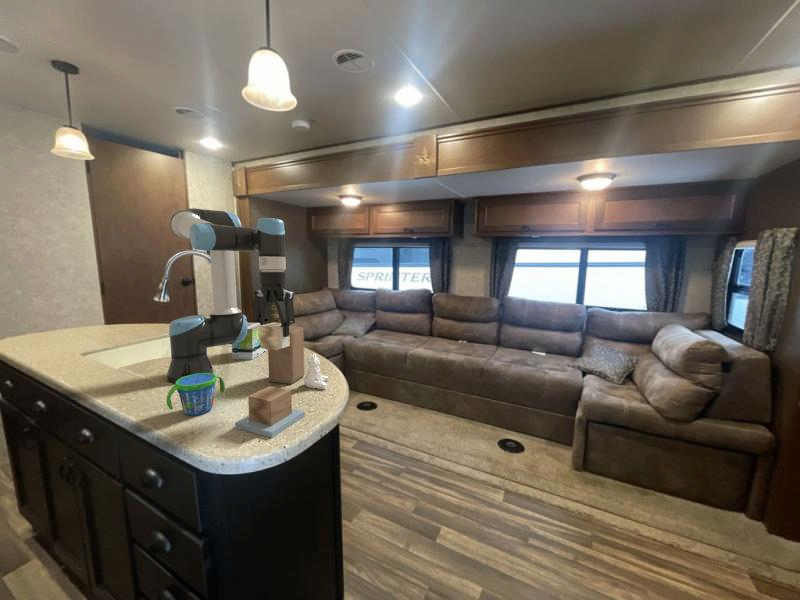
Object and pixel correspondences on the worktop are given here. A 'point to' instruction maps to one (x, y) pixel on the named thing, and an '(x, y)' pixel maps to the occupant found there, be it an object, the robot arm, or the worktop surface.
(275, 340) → the oak brick
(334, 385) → the worktop surface
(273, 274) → the robot arm
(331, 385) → the worktop surface
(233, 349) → the tea box
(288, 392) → the walnut brick
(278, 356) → the block
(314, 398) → the worktop surface
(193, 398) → the snack cup
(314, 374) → the sitting furry creature
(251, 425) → the plate
